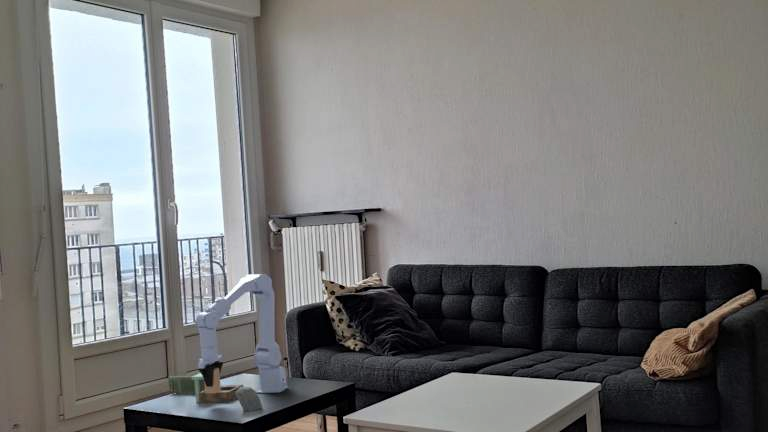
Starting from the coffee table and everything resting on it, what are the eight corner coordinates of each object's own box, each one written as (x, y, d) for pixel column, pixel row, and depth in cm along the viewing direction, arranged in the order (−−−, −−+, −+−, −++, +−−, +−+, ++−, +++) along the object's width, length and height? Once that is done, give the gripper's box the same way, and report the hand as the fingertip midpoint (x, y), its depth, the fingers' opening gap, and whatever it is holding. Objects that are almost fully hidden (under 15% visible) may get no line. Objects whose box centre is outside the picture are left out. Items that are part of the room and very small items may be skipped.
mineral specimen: (244, 404, 275) (246, 381, 275) (263, 411, 271) (266, 388, 270) (229, 409, 269) (232, 386, 268) (249, 416, 265) (251, 392, 264)
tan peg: (220, 390, 281) (218, 367, 281) (215, 393, 277) (213, 370, 277) (210, 390, 282) (208, 368, 282) (205, 393, 278) (203, 370, 278)
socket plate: (243, 393, 296) (243, 384, 296) (229, 401, 285) (228, 392, 285) (214, 394, 299) (213, 385, 299) (199, 402, 288) (198, 393, 288)
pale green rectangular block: (222, 394, 299) (220, 369, 299) (206, 402, 286) (203, 376, 286) (210, 394, 300) (208, 369, 300) (193, 403, 288) (191, 376, 288)
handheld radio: (173, 392, 312) (229, 391, 303) (168, 394, 309) (224, 394, 300) (171, 375, 312) (227, 374, 303) (166, 377, 309) (222, 376, 300)
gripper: (208, 343, 288) (211, 380, 288) (188, 350, 274) (192, 390, 274) (226, 342, 286) (229, 379, 286) (207, 349, 272) (210, 389, 272)
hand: (212, 384), depth 280 cm, fingers closed on tan peg, 4 cm apart
